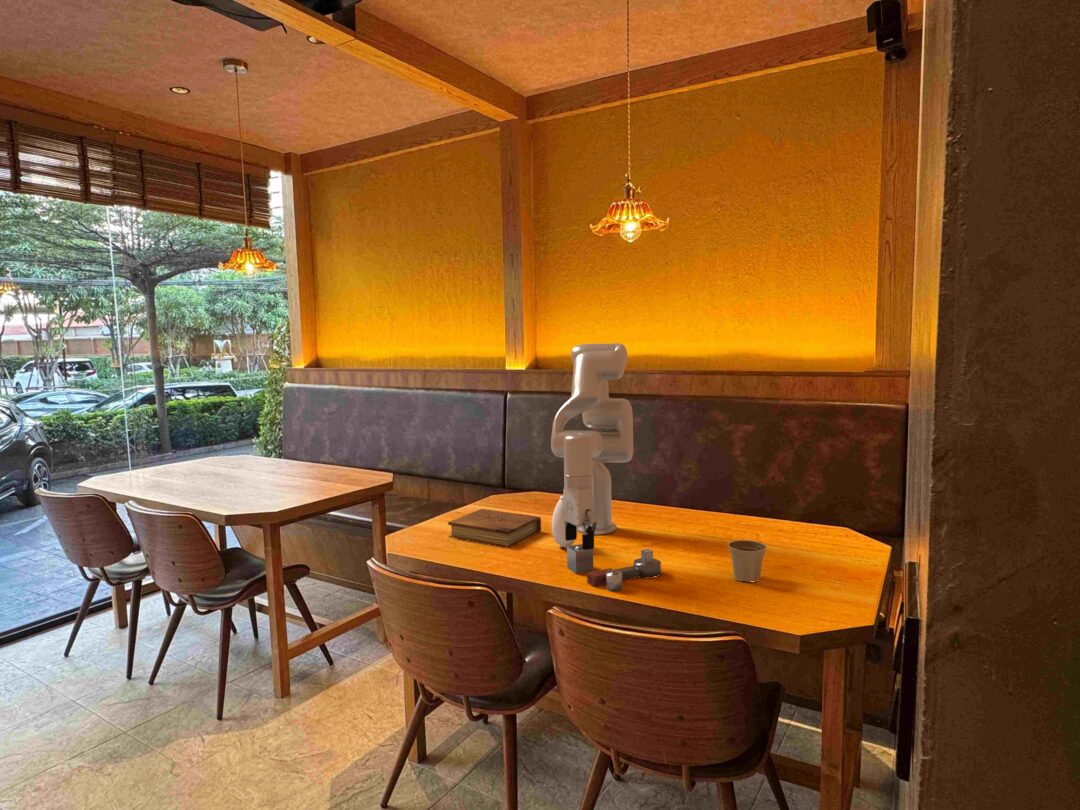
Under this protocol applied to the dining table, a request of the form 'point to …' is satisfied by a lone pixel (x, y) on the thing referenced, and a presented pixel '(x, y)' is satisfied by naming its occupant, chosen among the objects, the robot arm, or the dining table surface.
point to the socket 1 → (579, 559)
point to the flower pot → (747, 559)
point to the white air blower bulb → (560, 525)
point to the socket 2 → (614, 581)
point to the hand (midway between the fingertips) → (579, 544)
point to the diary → (495, 527)
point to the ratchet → (630, 569)
